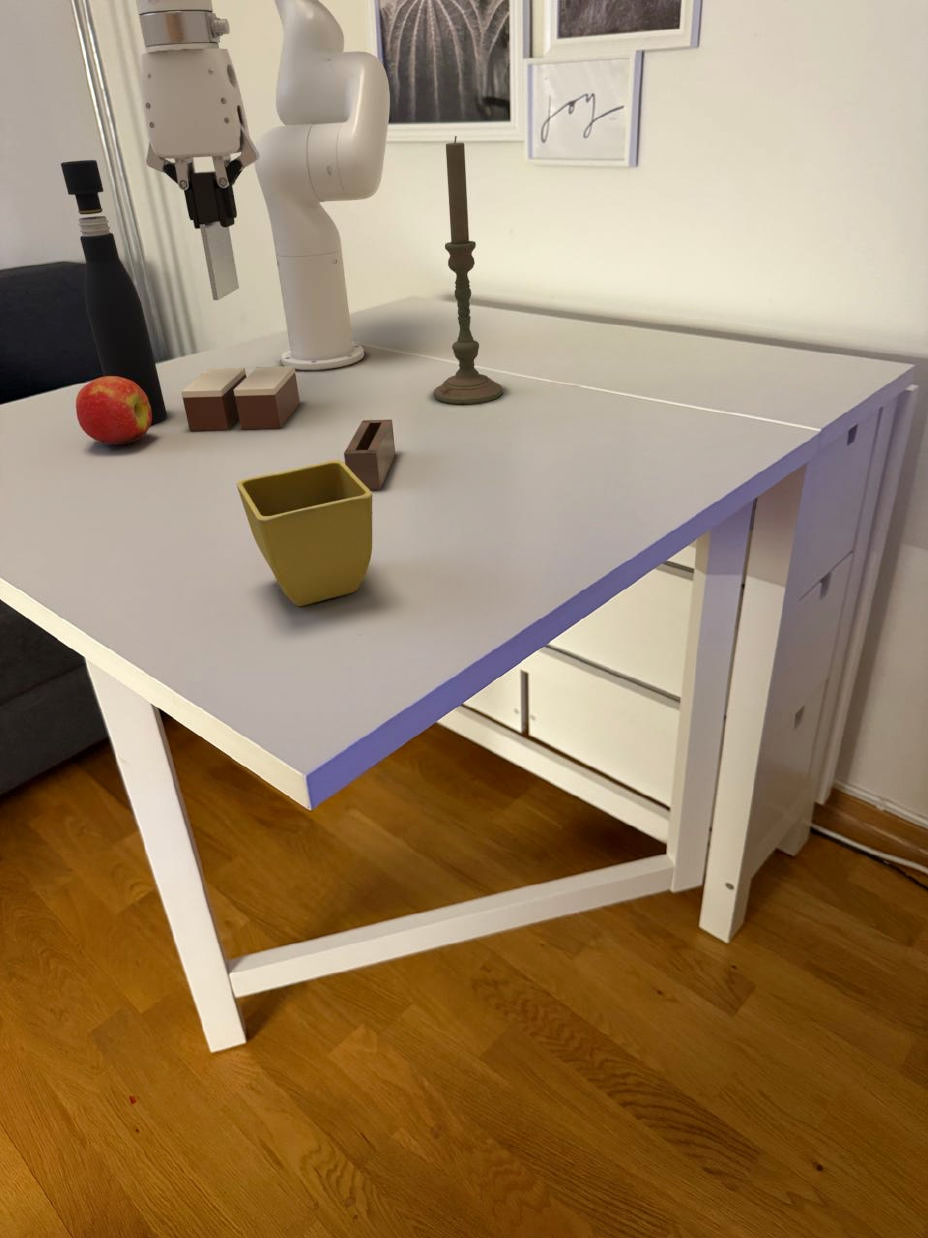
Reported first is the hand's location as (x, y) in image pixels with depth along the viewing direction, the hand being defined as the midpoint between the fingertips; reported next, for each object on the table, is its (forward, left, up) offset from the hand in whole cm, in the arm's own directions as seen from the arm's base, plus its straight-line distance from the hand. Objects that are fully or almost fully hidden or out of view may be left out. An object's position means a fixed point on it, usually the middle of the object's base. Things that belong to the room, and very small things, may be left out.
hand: (214, 224), depth 103 cm
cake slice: (-1, +3, -23) cm, 23 cm away
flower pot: (+45, +19, -23) cm, 54 cm away
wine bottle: (-1, -15, -23) cm, 27 cm away
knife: (0, 0, -8) cm, 8 cm away
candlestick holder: (-8, +27, -23) cm, 37 cm away
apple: (+8, -14, -23) cm, 28 cm away
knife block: (+19, +19, -23) cm, 36 cm away
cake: (-1, -4, -23) cm, 23 cm away
